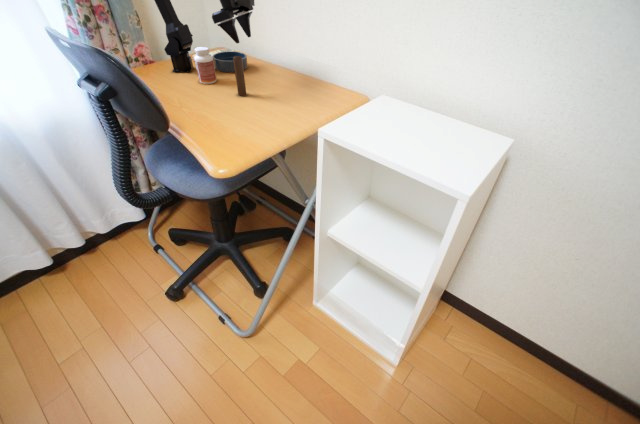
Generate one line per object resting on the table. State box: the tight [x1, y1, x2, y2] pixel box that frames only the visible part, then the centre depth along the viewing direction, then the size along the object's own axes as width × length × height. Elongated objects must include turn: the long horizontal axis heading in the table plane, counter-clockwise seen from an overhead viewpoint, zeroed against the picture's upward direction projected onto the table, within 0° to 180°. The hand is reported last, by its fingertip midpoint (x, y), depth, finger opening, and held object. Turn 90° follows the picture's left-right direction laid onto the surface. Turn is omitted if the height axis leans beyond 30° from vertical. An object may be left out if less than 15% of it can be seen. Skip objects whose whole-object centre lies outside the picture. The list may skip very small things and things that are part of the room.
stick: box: [233, 56, 247, 97], centre depth 102 cm, size 3×3×12 cm
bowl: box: [211, 50, 249, 74], centre depth 124 cm, size 13×13×4 cm
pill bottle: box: [194, 46, 217, 85], centre depth 110 cm, size 6×6×11 cm
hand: (244, 40), depth 108 cm, fingers open, 9 cm apart
